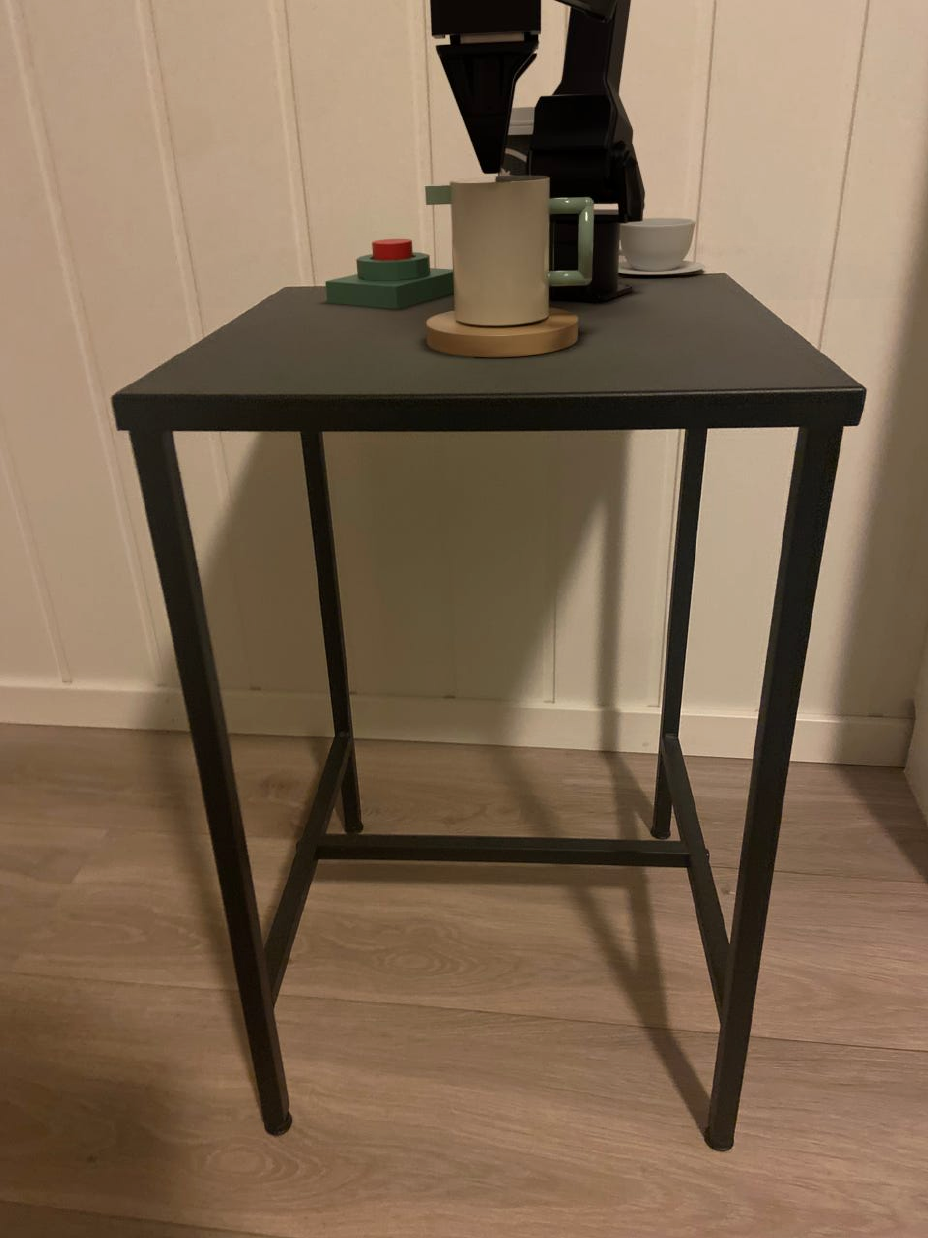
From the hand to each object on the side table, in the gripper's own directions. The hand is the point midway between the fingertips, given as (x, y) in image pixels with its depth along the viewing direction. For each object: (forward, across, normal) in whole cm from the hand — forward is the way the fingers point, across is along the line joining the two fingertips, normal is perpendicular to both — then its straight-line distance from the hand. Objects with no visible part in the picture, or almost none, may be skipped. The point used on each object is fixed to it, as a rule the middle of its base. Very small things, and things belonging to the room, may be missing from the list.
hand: (493, 169), depth 64 cm
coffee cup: (+11, +26, -4) cm, 29 cm away
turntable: (+11, -1, 0) cm, 11 cm away
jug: (+10, -1, 0) cm, 10 cm away
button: (+8, +19, +10) cm, 23 cm away
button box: (+11, +19, +10) cm, 24 cm away
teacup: (+11, +30, -15) cm, 36 cm away
